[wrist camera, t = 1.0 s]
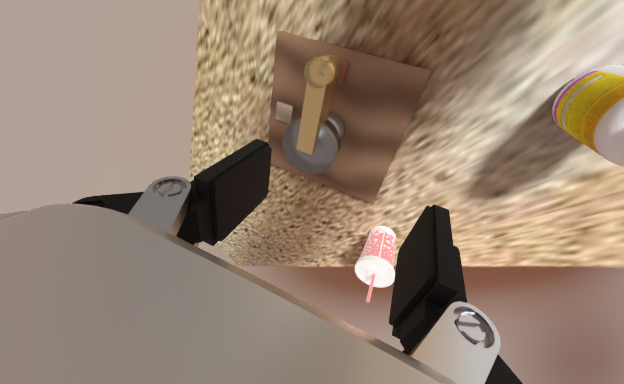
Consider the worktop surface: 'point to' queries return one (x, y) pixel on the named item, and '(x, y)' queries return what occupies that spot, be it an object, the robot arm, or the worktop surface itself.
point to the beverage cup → (377, 259)
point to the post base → (347, 110)
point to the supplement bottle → (595, 111)
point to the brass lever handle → (315, 119)
